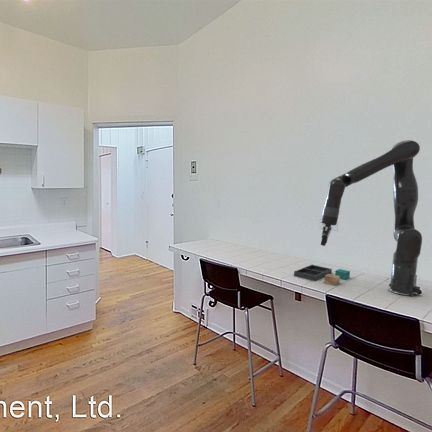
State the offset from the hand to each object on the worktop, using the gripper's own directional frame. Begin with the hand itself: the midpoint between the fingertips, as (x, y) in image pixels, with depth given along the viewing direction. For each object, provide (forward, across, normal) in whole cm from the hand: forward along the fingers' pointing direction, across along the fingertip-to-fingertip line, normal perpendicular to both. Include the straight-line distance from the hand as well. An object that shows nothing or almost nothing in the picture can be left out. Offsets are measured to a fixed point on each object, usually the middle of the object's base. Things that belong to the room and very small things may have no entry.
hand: (323, 244), depth 165 cm
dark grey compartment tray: (+22, +12, +2) cm, 25 cm away
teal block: (+20, +15, -12) cm, 27 cm away
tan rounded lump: (+20, +1, -8) cm, 22 cm away
